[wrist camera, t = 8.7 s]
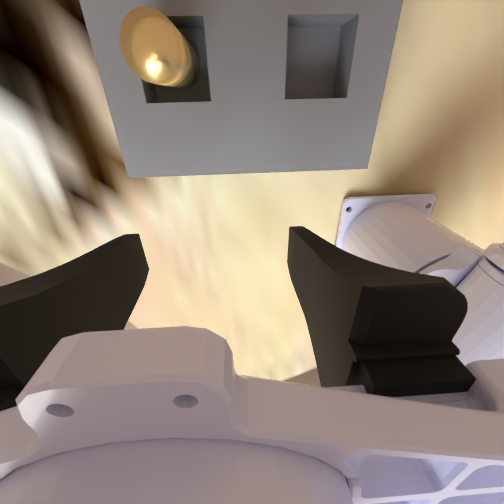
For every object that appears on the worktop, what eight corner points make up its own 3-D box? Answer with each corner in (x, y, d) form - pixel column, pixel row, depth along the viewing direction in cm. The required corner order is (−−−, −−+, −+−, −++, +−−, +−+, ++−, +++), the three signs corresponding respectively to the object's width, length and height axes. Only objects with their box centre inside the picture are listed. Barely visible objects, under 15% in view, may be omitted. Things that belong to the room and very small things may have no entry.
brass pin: (201, 90, 16) (184, 85, 11) (161, 87, 16) (126, 81, 11) (198, 40, 15) (178, 8, 10) (155, 36, 15) (112, 3, 10)
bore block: (349, 159, 20) (367, 168, 17) (142, 167, 19) (128, 177, 16) (390, -76, 13) (427, -118, 11) (84, -76, 13) (46, -120, 10)
